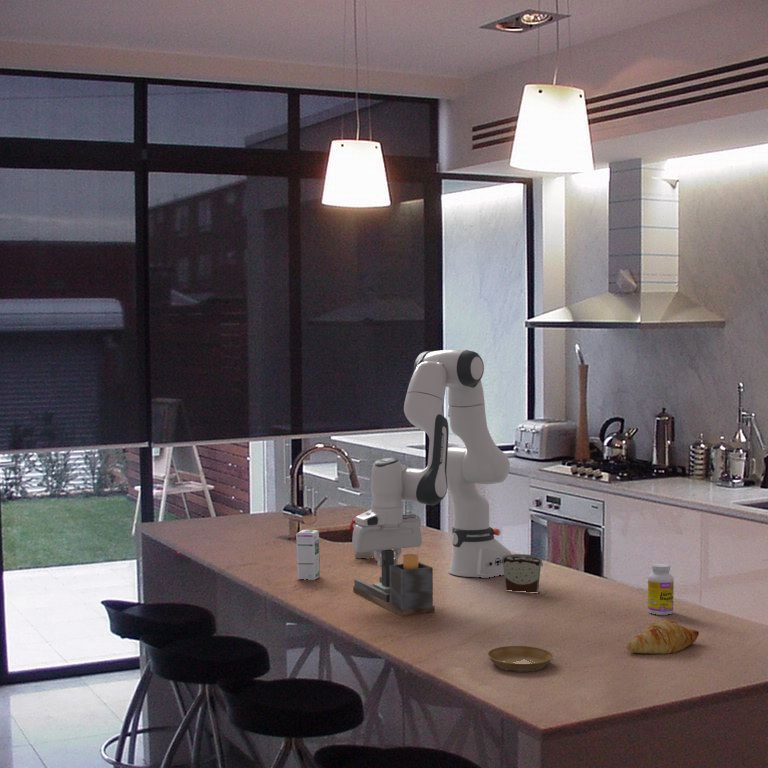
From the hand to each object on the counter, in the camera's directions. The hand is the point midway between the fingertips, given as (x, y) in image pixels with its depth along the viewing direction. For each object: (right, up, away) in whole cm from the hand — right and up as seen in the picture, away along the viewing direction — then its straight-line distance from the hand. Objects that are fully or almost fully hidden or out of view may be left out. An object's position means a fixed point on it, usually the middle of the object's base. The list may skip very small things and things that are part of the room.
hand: (387, 565), depth 327 cm
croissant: (+65, -12, -52) cm, 84 cm away
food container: (+40, -9, +10) cm, 42 cm away
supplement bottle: (+72, -10, -18) cm, 75 cm away
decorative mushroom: (-7, -7, +60) cm, 61 cm away
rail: (+1, -10, -2) cm, 10 cm away
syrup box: (-24, -9, +29) cm, 39 cm away
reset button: (+6, -1, -13) cm, 15 cm away
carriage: (0, -8, 0) cm, 8 cm away
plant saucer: (+30, -13, -64) cm, 72 cm away
